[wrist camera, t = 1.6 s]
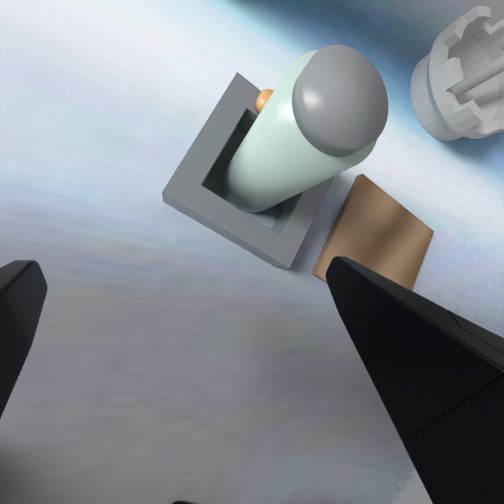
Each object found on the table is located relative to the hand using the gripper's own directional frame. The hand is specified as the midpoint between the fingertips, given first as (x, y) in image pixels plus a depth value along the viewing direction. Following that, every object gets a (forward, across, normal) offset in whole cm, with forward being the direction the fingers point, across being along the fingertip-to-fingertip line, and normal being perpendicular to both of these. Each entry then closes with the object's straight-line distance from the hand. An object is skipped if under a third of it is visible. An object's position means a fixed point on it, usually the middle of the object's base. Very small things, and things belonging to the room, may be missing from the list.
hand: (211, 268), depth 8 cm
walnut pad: (+11, -20, +8) cm, 25 cm away
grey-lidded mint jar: (+15, -6, +3) cm, 17 cm away
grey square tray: (+15, -6, +3) cm, 17 cm away
